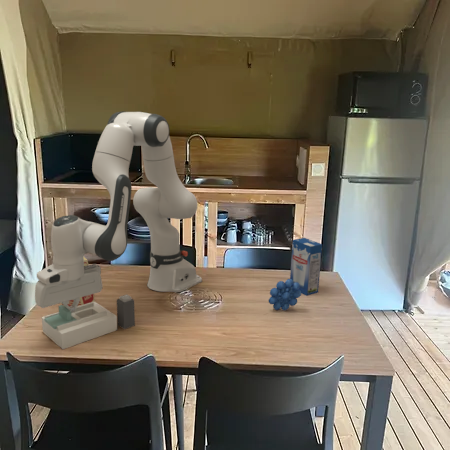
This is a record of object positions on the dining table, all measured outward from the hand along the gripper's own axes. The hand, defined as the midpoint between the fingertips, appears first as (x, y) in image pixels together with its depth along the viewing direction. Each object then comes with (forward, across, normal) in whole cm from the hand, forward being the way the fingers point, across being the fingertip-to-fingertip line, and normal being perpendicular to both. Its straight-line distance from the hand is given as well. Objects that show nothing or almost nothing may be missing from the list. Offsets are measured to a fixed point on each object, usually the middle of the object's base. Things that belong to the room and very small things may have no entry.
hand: (71, 312), depth 140 cm
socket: (+7, -2, 0) cm, 8 cm away
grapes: (+7, -64, +32) cm, 72 cm away
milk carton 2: (+7, -84, +26) cm, 89 cm away
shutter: (+2, +4, 0) cm, 4 cm away
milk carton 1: (+8, -12, -19) cm, 24 cm away
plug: (+7, -16, +6) cm, 18 cm away
